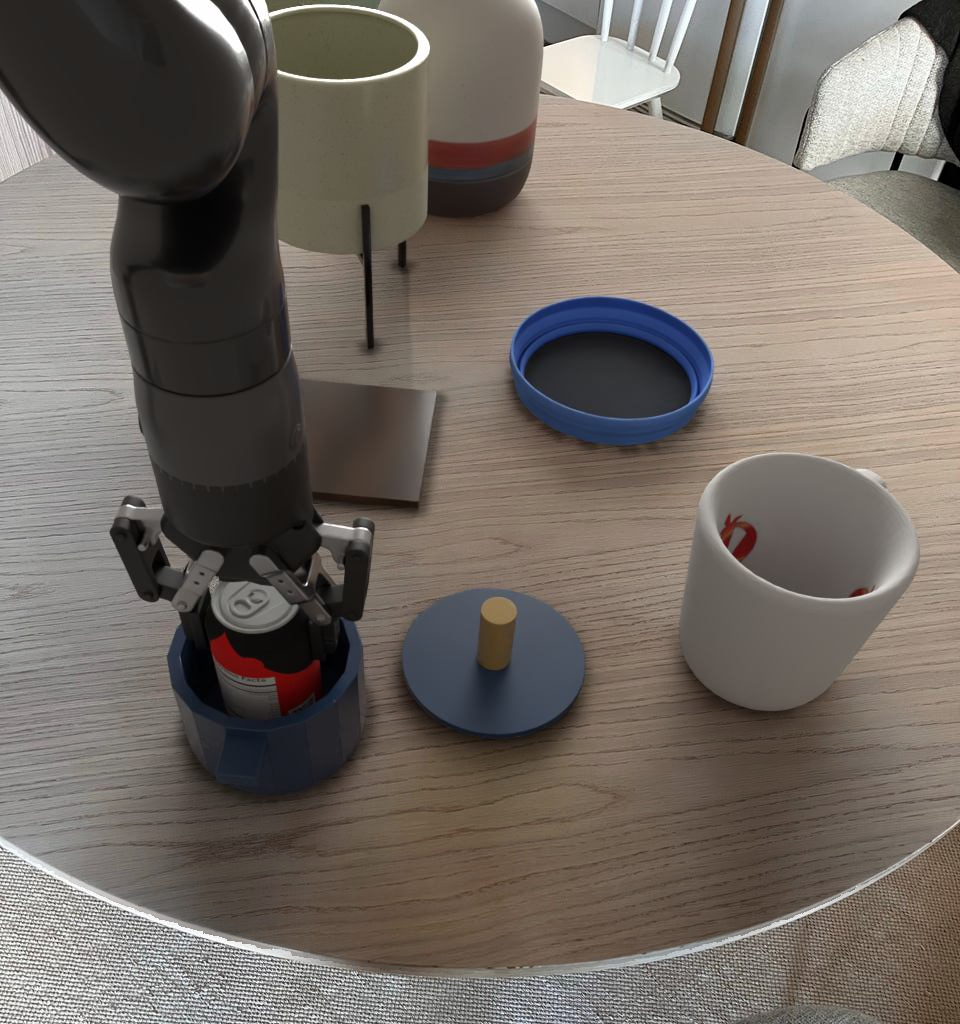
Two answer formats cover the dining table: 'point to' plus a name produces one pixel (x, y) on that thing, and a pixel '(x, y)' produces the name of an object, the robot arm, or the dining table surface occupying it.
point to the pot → (271, 721)
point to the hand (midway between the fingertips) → (264, 643)
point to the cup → (790, 576)
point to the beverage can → (261, 652)
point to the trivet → (367, 441)
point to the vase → (478, 99)
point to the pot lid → (493, 663)
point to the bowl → (610, 369)
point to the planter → (351, 132)
